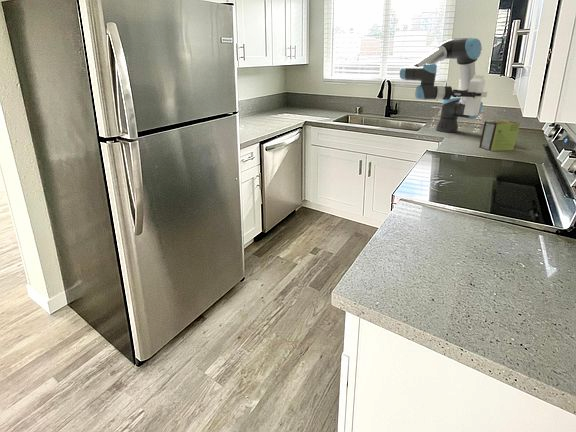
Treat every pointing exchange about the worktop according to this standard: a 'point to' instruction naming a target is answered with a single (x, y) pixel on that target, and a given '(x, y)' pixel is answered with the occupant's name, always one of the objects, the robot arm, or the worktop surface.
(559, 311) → the worktop surface
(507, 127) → the protein box
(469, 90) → the milk
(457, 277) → the worktop surface
